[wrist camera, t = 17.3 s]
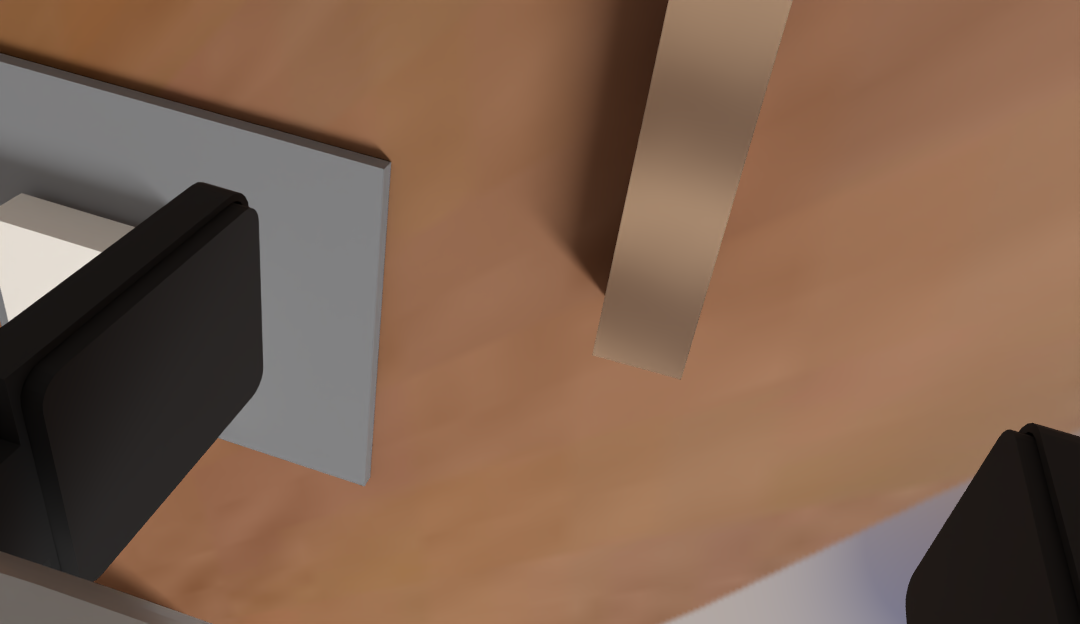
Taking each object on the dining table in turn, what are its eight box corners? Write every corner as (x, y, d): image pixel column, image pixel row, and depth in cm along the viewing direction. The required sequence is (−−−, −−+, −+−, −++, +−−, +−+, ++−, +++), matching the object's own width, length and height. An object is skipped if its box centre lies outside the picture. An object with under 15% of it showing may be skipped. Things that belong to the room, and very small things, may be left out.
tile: (-17, 215, 35) (28, 409, 40) (173, 273, 34) (191, 463, 39) (28, 188, 37) (66, 377, 42) (209, 242, 35) (222, 428, 41)
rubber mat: (-55, 37, 34) (-68, 42, 34) (390, 162, 32) (384, 169, 31) (21, 362, 44) (12, 369, 43) (370, 477, 41) (364, 486, 41)
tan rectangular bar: (744, -293, 22) (731, -291, 20) (866, -272, 22) (871, -268, 19) (613, 299, 33) (592, 355, 30) (694, 320, 33) (681, 379, 30)
